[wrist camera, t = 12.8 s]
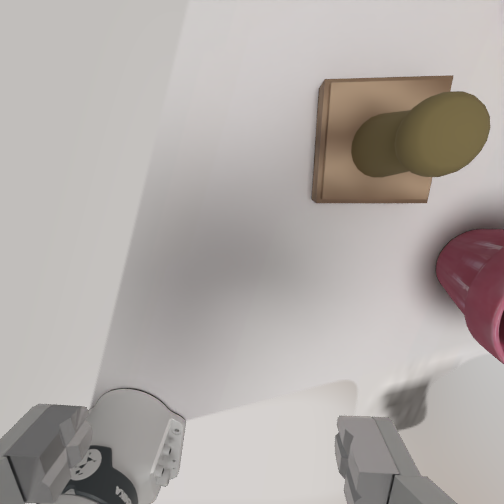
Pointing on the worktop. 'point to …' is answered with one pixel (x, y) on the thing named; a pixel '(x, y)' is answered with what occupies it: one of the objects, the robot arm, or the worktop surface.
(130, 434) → the robot arm
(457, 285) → the plant pot
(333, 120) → the walnut stand
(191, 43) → the worktop surface
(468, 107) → the cork
